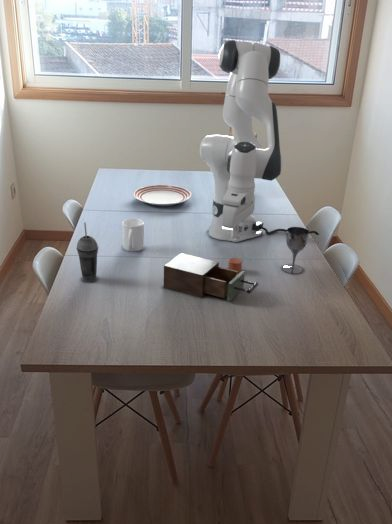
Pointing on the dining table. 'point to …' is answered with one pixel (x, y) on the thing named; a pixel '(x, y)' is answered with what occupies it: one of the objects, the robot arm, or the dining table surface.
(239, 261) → the orange cylinder puck
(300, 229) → the wine glass
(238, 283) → the drawer
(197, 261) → the cabinet
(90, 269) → the beverage cup
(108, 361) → the dining table surface
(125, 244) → the mug
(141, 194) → the dinner plate
